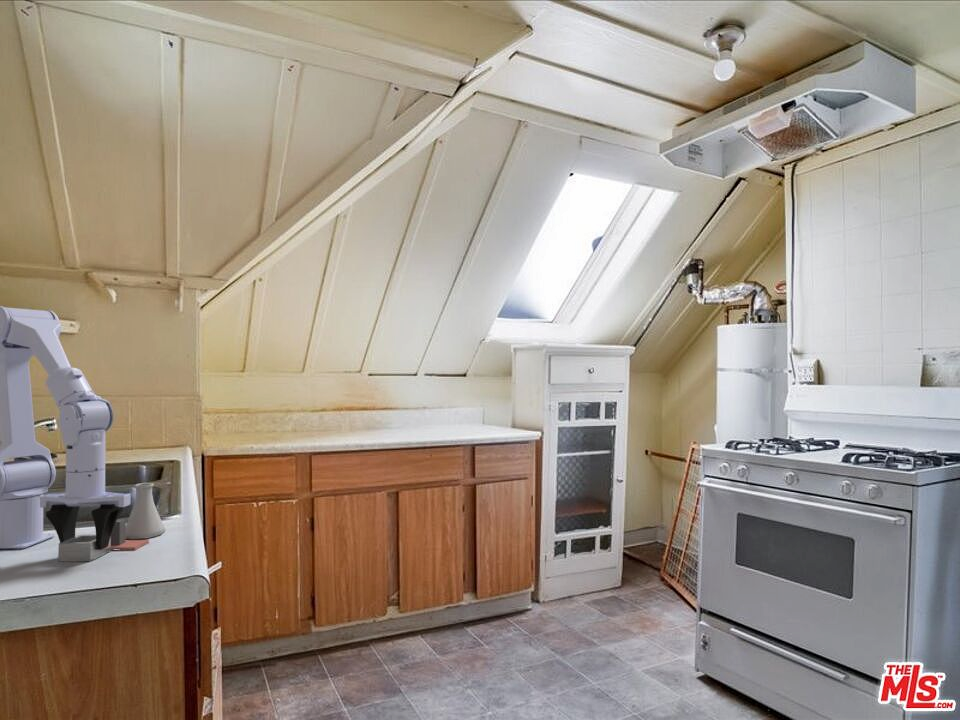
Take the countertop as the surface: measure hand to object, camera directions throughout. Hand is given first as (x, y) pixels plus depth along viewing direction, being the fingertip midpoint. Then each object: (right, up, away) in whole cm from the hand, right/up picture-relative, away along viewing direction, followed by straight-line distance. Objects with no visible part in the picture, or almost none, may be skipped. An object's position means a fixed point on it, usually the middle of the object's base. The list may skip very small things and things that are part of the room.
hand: (85, 548), depth 101 cm
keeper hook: (+2, -2, +6) cm, 6 cm away
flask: (+3, -2, +13) cm, 13 cm away
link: (0, -1, 0) cm, 1 cm away
